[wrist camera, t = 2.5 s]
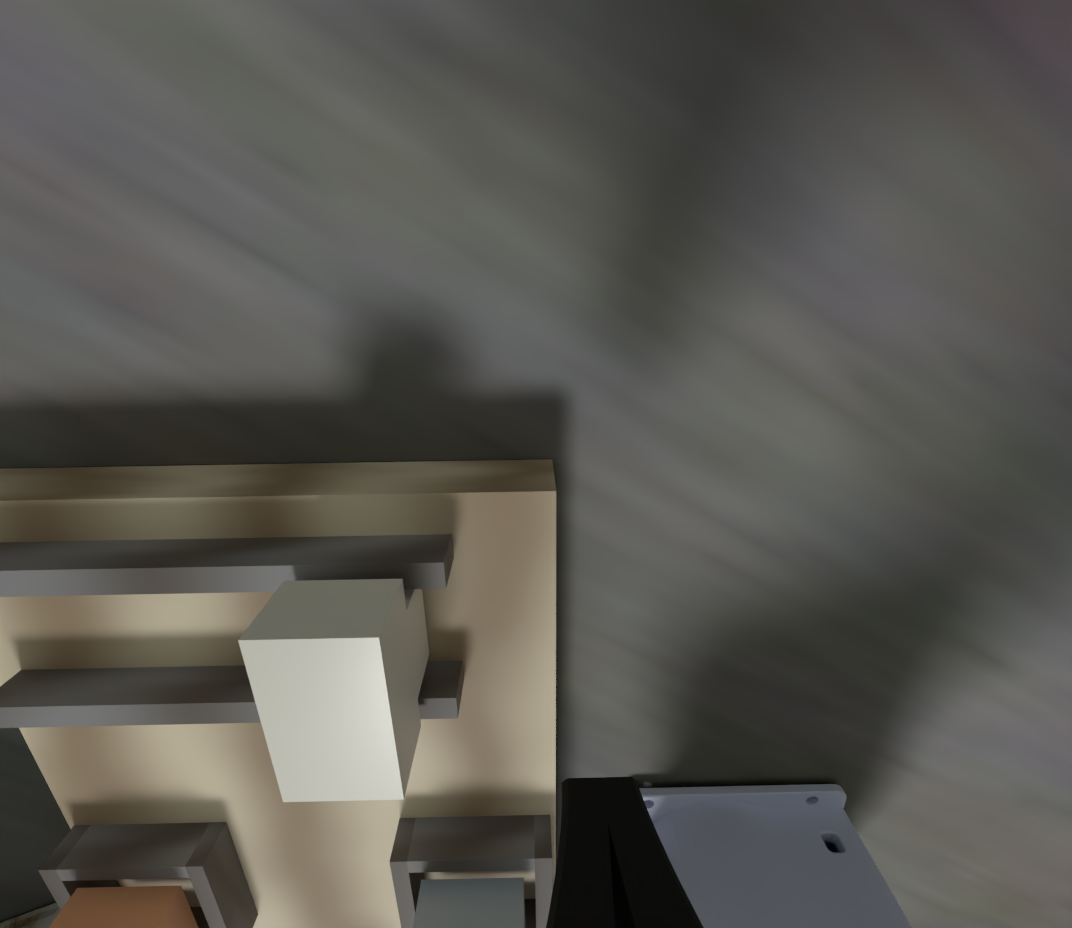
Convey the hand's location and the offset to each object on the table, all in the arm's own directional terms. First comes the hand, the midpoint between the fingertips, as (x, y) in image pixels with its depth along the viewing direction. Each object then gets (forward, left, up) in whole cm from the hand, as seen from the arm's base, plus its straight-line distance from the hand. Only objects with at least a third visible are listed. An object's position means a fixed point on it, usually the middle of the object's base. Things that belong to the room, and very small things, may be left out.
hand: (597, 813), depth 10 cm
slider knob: (+6, 0, -6) cm, 9 cm away
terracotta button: (+15, +12, -5) cm, 20 cm away
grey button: (+4, +12, -5) cm, 13 cm away
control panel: (+9, +8, -9) cm, 15 cm away
